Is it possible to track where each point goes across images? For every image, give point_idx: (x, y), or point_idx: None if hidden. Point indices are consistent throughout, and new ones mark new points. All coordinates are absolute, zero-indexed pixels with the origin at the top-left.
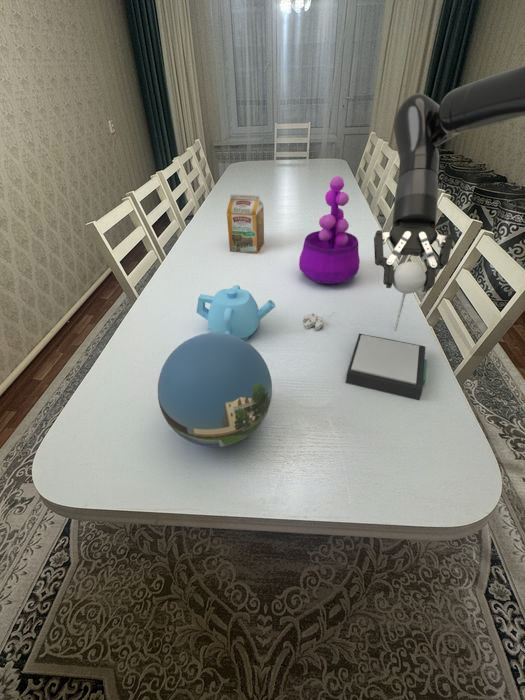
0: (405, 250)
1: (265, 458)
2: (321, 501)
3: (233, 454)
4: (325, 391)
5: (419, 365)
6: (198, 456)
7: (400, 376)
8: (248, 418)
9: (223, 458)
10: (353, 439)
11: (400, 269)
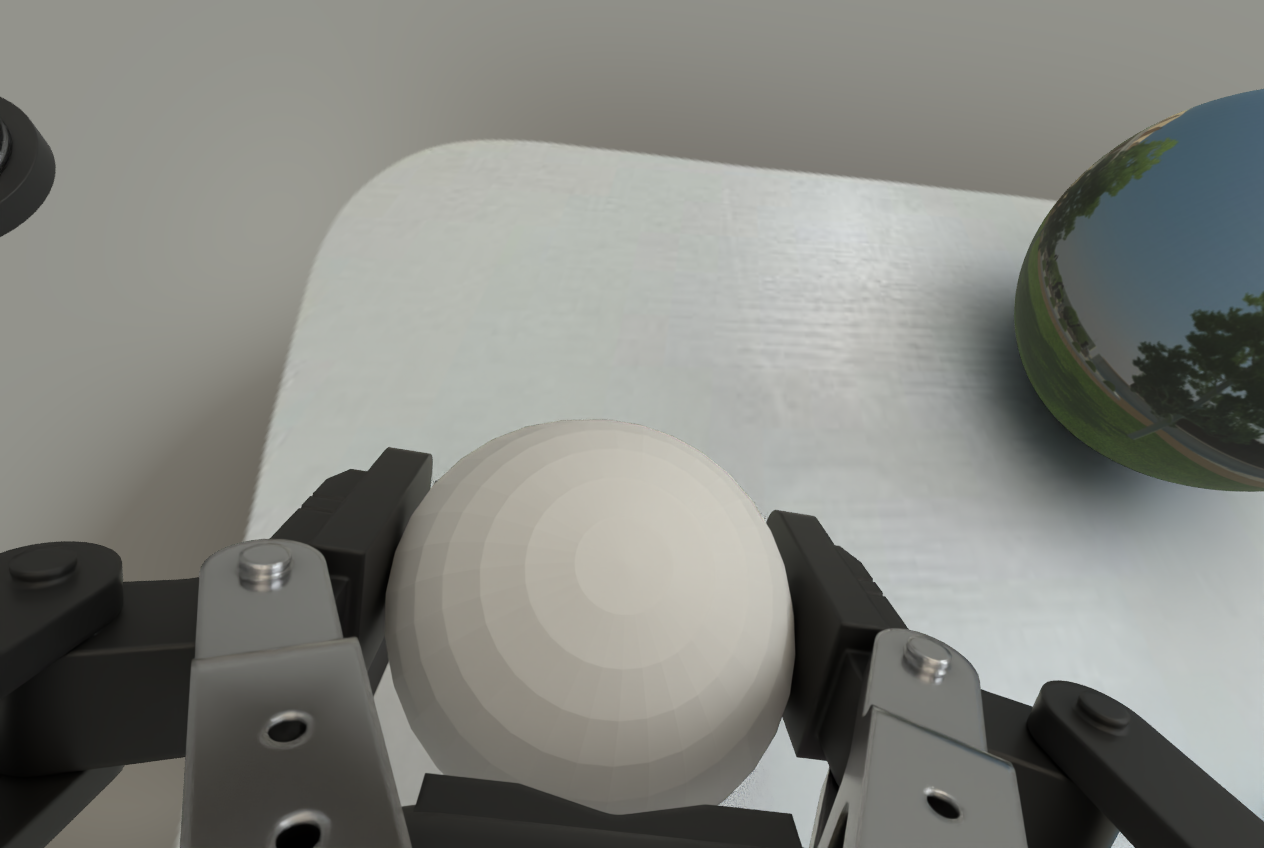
0: (758, 824)
1: (935, 295)
2: (787, 196)
3: None
4: None
5: (383, 650)
6: None
7: None
8: (1092, 165)
9: None
10: (709, 342)
11: (759, 533)
